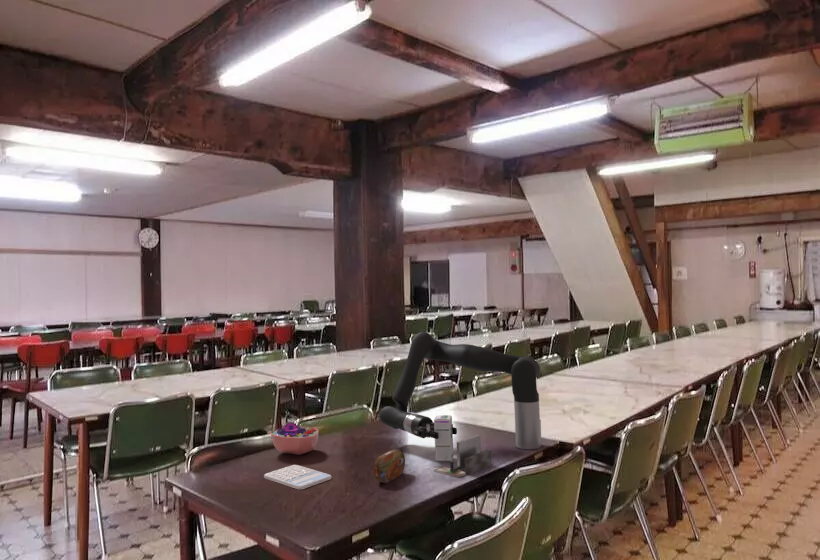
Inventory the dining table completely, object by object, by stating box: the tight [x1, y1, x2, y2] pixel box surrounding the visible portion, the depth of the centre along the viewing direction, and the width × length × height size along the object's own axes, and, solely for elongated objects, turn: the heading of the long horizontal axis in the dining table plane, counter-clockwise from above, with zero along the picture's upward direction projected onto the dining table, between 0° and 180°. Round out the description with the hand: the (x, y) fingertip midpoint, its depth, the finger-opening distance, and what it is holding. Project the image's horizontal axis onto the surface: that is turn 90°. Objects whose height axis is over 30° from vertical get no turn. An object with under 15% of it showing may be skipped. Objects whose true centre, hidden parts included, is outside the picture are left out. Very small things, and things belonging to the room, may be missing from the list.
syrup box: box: [433, 414, 455, 462], centre depth 200 cm, size 6×6×14 cm
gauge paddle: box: [449, 434, 482, 472], centre depth 191 cm, size 16×1×9 cm, turn 138°
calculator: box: [263, 464, 332, 490], centre depth 188 cm, size 13×20×2 cm, turn 49°
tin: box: [373, 449, 406, 484], centre depth 185 cm, size 15×3×8 cm, turn 149°
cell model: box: [269, 421, 319, 456], centre depth 217 cm, size 17×20×11 cm
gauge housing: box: [433, 449, 492, 478], centre depth 193 cm, size 18×12×5 cm, turn 138°
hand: (447, 433), depth 199 cm, fingers closed on syrup box, 8 cm apart
